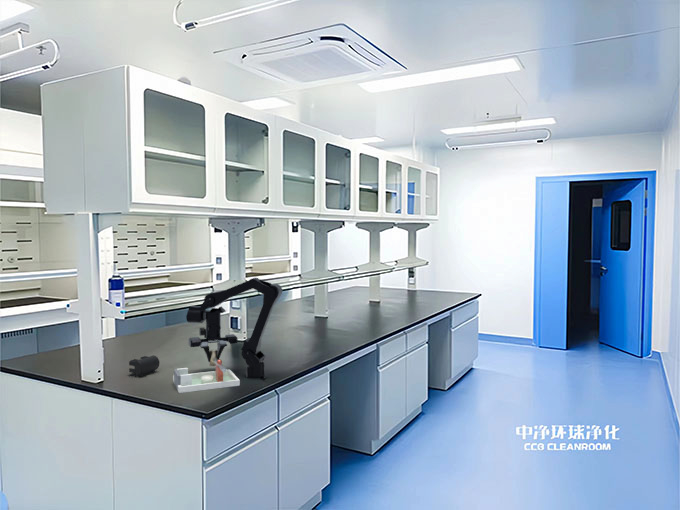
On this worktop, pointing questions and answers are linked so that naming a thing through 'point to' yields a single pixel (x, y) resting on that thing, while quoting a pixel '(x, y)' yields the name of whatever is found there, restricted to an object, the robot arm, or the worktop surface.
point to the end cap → (143, 365)
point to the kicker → (217, 365)
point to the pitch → (193, 381)
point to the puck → (206, 379)
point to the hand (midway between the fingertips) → (213, 361)
